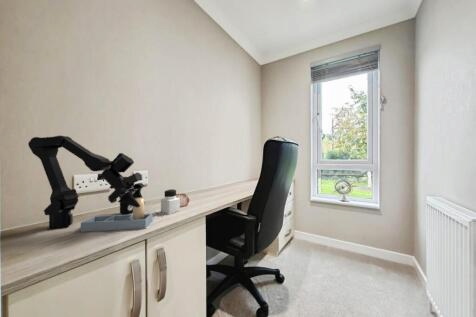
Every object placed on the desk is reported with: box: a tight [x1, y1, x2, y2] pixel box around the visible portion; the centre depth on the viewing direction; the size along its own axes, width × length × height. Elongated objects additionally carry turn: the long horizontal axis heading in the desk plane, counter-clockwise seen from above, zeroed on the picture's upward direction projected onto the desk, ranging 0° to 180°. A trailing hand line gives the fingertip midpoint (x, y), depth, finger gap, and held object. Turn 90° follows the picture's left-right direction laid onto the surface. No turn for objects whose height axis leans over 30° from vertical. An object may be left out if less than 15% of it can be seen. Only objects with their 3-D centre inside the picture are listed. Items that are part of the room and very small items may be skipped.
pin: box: [132, 197, 145, 220], centre depth 81 cm, size 4×4×10 cm
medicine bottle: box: [160, 189, 181, 215], centre depth 102 cm, size 7×7×12 cm
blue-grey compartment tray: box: [80, 213, 154, 233], centre depth 80 cm, size 25×9×4 cm, turn 97°
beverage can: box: [119, 202, 133, 215], centre depth 100 cm, size 7×7×12 cm
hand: (141, 205), depth 81 cm, fingers closed on pin, 4 cm apart
